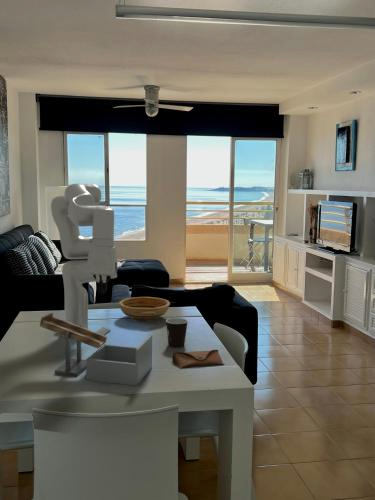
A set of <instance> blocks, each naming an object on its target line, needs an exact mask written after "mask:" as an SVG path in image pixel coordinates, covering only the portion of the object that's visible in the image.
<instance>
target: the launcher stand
mask: <svg viewBox="0 0 375 500" xmlns="http://www.w3.org/2000/svg"><path fill="white" fill-rule="evenodd" d="M78 326H80V327H81V325H78ZM64 341H65V342H64V344H65V345H64V346H65V347H64V353H65V354H64V357H65V358H64V359H65V362H64V363H62V364H61V365H60V366H58V367H57V368H56V369H55V370H54V375H62V376H69V377H78V376H79V375H80V374H81V373H83V372H84V371H86V359H82V342H80V341H77V340H76V358H72V357H71V338H70V332H66V333H65V337H64Z"/></svg>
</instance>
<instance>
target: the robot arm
mask: <svg viewBox="0 0 375 500" xmlns="http://www.w3.org/2000/svg"><path fill="white" fill-rule="evenodd" d="M101 200H102V190H101V189H100V187H99V186H98V185H96V184H95V183H71V184H69V185H68V186H67V187H66V188H65V190H64V195H59V196H55V197H54V198H52V200H51V202H50V211H51V216H52V219H53V221H54V223H55V226H56V227H57V230H58V234H59V241H60V246H61V252H62V255H63V257H64V258H65V259H67V260H70V261H67V262H65V263H64V264H63V265H62V267H61V273H62V279H63V288H64V290H63V291H64V321H67V322H70V323H72V324H75V325H81V327H83V328H86V329H88V330H91V329H90V328H89V298H88V297H89V294H88V291H87V289H86V288H85V287H84V286H83V284H85V283H93V282H94V283H97V291H98V294H103V295H104V294H105V293H106V292H107V291H108V282H109V281H110V280H111V279H116V278H117V277H118V273H117V272H118V255H117V250H116V246H115V244H114V243H115V238H114V237H115V211H114V209H113V208H110V207H108V206H107V205H100V203H101ZM80 227H92V235H91V236H90V235H89V236H88V235H87V236H82V235H81V233H80ZM61 336H62V337H63V338H65V336H64V335H61Z"/></svg>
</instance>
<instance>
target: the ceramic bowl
mask: <svg viewBox="0 0 375 500" xmlns="http://www.w3.org/2000/svg"><path fill="white" fill-rule="evenodd" d="M118 304H119V309H120V311H121V312H122V313H123V314H124V315H125V316H127V317H129V318H131V319H132V320H133V321H135V322H141V323H146V322H147V323H149V322H153V321H155V320H157V319H158V318H160V317H162V316H163V315H165V314H166V313H167V312H168V310H169V308H170V307H169V306H170V305H171V302H170V301H169V300H167V299H165V298H160V297H151V296H138V297H137V296H136V297H128V298H125V299H122V300H120V301H119V302H118Z"/></svg>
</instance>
